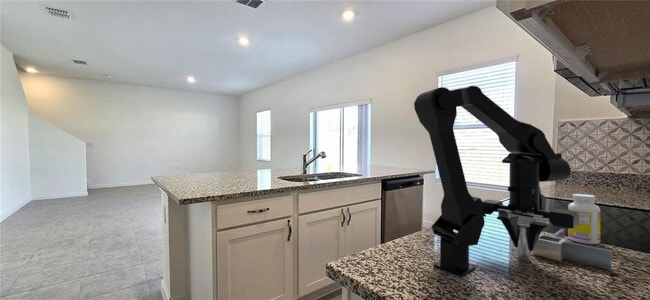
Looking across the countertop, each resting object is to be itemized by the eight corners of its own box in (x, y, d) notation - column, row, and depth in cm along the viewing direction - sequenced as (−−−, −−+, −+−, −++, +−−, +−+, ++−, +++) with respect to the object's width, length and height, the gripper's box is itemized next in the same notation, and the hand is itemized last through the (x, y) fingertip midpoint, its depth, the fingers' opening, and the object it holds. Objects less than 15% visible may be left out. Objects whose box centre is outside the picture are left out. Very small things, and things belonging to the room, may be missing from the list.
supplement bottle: (586, 237, 82) (587, 193, 82) (607, 245, 75) (607, 197, 75) (562, 236, 83) (562, 193, 83) (580, 244, 76) (580, 197, 76)
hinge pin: (528, 262, 65) (528, 227, 65) (515, 259, 67) (515, 225, 67) (532, 259, 66) (532, 225, 66) (519, 256, 68) (519, 223, 68)
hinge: (609, 273, 59) (609, 254, 59) (532, 254, 70) (532, 238, 69) (619, 255, 69) (619, 238, 68) (550, 241, 79) (550, 226, 79)
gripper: (584, 183, 64) (584, 252, 64) (494, 176, 79) (494, 232, 79) (572, 188, 57) (572, 265, 57) (476, 180, 72) (476, 241, 72)
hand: (523, 248), depth 66 cm, fingers closed on hinge pin, 3 cm apart
